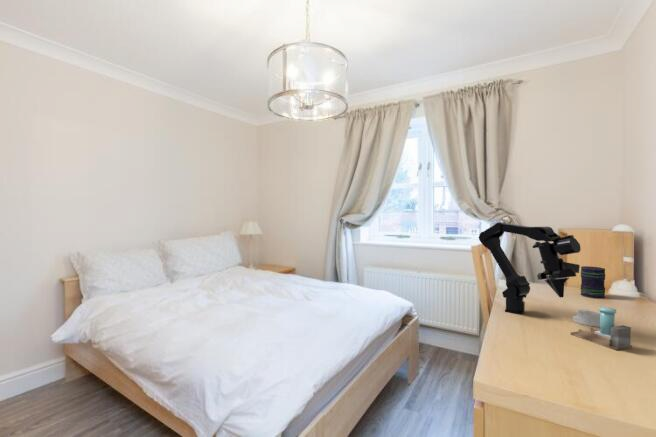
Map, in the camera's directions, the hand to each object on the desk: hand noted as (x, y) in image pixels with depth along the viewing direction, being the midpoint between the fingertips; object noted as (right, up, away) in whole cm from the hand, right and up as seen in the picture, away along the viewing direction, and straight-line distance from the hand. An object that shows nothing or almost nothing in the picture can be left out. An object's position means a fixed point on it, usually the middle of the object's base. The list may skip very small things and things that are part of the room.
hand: (561, 297), depth 119 cm
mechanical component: (+14, -11, +4) cm, 18 cm away
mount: (+2, -11, -14) cm, 18 cm away
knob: (+3, -11, -16) cm, 20 cm away
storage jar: (+49, -11, +43) cm, 66 cm away
